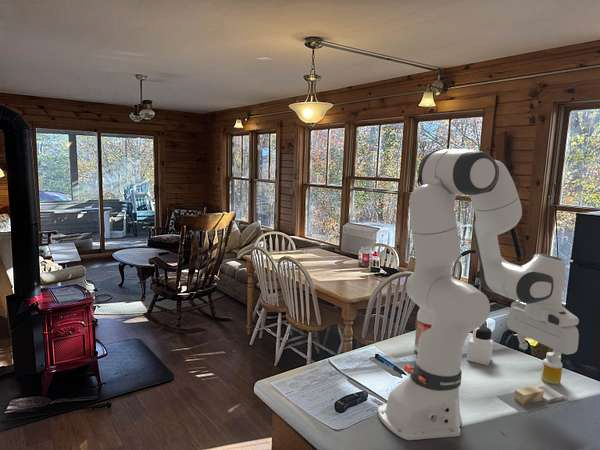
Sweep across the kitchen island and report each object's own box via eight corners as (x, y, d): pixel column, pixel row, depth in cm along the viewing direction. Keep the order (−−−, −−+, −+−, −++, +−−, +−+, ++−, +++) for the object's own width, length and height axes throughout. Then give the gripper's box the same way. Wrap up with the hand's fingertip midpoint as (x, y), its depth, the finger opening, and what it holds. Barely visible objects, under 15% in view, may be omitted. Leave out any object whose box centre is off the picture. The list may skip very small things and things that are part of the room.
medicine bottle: (491, 358, 150) (494, 327, 148) (488, 366, 144) (492, 333, 142) (470, 353, 154) (473, 322, 152) (466, 360, 148) (470, 328, 146)
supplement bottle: (562, 388, 131) (566, 359, 129) (544, 386, 132) (547, 357, 131) (555, 380, 136) (559, 352, 135) (538, 377, 137) (541, 350, 136)
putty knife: (527, 407, 118) (528, 397, 117) (509, 396, 123) (510, 387, 123) (563, 399, 123) (565, 389, 123) (545, 388, 129) (546, 379, 128)
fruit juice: (426, 344, 160) (432, 273, 156) (446, 353, 152) (453, 279, 148) (408, 348, 155) (415, 276, 151) (428, 359, 147) (435, 282, 143)
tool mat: (521, 415, 115) (521, 413, 115) (495, 398, 123) (495, 396, 123) (570, 403, 122) (571, 401, 122) (543, 387, 131) (543, 385, 131)
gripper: (504, 299, 127) (500, 342, 129) (568, 323, 108) (562, 373, 110) (519, 297, 129) (515, 339, 131) (585, 321, 111) (578, 369, 113)
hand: (537, 355), depth 121 cm, fingers open, 8 cm apart
